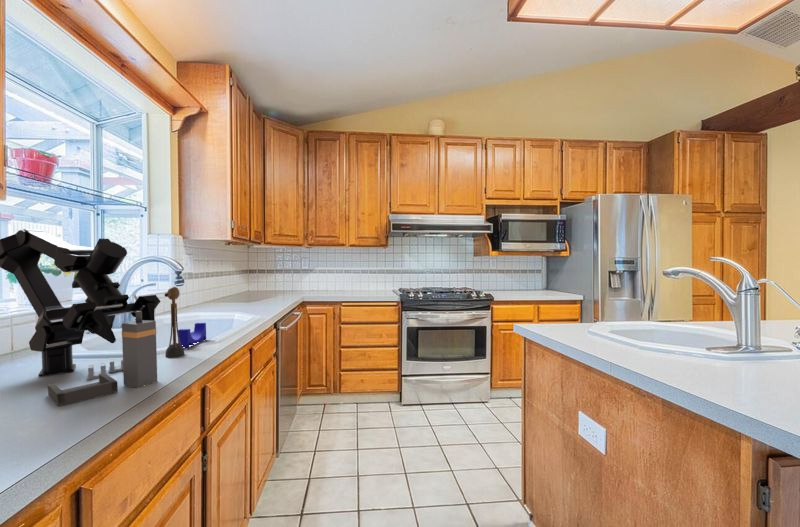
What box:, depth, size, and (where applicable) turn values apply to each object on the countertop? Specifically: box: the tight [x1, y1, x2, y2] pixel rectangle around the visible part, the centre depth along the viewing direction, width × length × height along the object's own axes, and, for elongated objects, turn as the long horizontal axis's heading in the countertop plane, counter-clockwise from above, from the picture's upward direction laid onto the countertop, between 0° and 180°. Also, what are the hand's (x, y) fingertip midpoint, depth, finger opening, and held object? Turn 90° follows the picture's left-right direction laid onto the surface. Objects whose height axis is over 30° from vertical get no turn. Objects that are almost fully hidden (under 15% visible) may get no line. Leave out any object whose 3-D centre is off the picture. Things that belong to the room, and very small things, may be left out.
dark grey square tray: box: [47, 373, 119, 407], centre depth 79 cm, size 10×10×2 cm
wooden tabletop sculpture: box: [164, 286, 185, 359], centre depth 108 cm, size 6×5×20 cm
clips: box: [86, 357, 123, 380], centre depth 95 cm, size 7×13×3 cm, turn 128°
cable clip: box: [177, 322, 207, 349], centre depth 122 cm, size 12×4×6 cm, turn 3°
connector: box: [121, 311, 158, 388], centre depth 85 cm, size 5×5×16 cm
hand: (135, 337), depth 85 cm, fingers open, 9 cm apart
